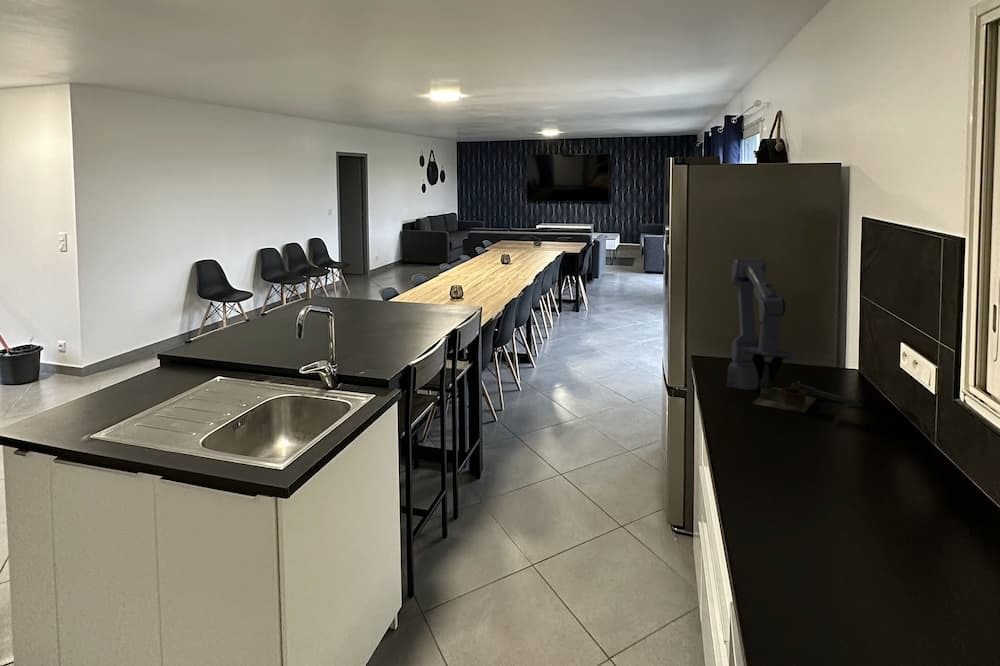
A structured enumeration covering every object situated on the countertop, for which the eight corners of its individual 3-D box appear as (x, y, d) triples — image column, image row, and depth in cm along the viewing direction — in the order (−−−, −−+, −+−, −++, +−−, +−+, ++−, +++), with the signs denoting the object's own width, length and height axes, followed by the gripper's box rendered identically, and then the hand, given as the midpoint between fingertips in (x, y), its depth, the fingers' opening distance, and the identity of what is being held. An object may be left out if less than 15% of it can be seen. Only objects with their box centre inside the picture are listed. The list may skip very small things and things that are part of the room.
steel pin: (759, 387, 199) (761, 362, 198) (761, 385, 202) (763, 360, 200) (769, 389, 198) (771, 364, 196) (771, 386, 200) (774, 361, 198)
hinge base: (752, 406, 201) (753, 391, 200) (767, 392, 215) (768, 378, 213) (804, 415, 192) (805, 399, 191) (816, 401, 206) (817, 385, 205)
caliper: (789, 399, 207) (791, 380, 205) (789, 398, 208) (791, 379, 206) (862, 406, 198) (864, 387, 197) (861, 405, 199) (864, 386, 198)
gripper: (741, 336, 197) (738, 378, 200) (791, 342, 189) (787, 386, 192) (748, 331, 203) (745, 373, 206) (797, 337, 194) (793, 380, 197)
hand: (766, 379), depth 199 cm, fingers closed on steel pin, 3 cm apart
